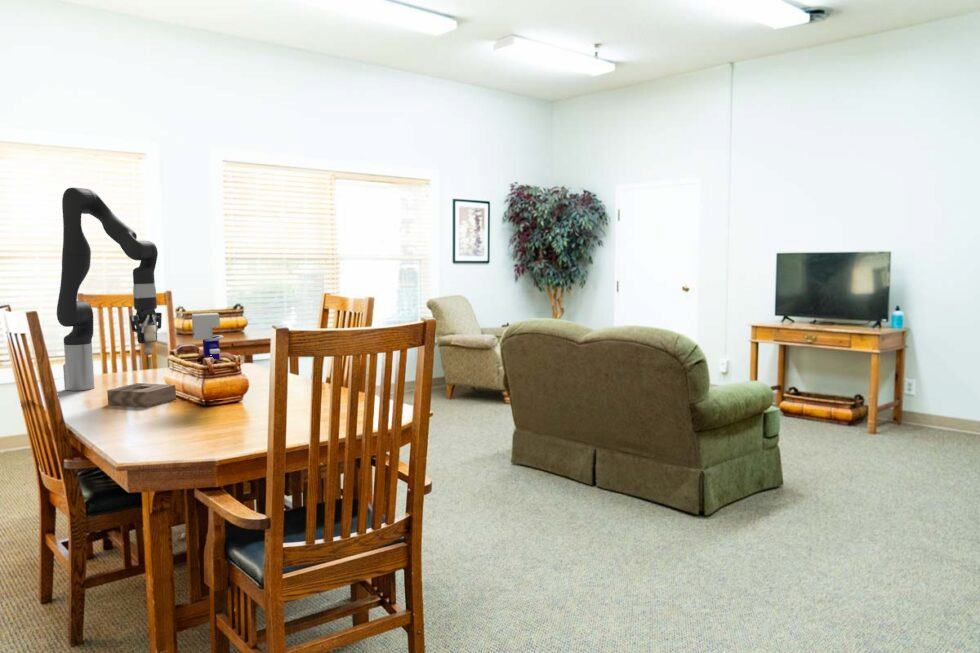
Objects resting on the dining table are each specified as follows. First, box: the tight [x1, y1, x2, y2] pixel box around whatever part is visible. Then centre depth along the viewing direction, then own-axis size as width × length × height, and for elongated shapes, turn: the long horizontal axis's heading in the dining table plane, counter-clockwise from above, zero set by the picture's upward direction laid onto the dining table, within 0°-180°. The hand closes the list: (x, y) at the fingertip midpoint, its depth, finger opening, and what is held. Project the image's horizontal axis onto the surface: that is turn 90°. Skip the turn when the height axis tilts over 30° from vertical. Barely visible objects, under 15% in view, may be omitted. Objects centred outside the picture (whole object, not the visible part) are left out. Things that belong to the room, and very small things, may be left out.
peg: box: [140, 325, 158, 356], centre depth 270 cm, size 6×6×10 cm
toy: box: [191, 312, 224, 359], centre depth 257 cm, size 35×10×30 cm, turn 25°
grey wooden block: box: [106, 382, 177, 408], centre depth 256 cm, size 16×14×5 cm
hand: (147, 342), depth 270 cm, fingers closed on peg, 6 cm apart
